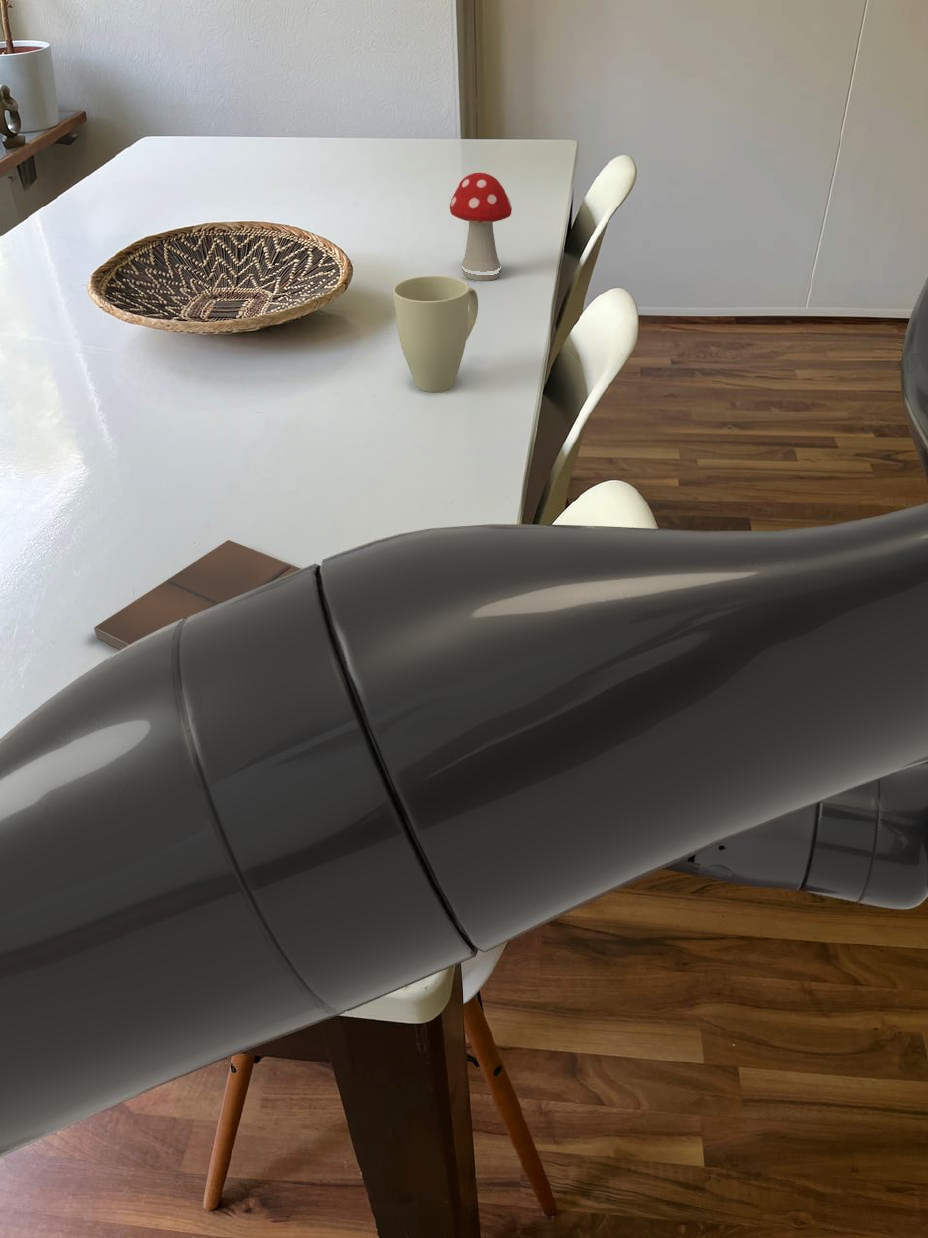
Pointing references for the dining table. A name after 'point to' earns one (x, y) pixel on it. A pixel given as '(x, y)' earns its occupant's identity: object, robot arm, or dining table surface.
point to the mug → (434, 327)
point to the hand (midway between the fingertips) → (411, 747)
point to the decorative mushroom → (480, 221)
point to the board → (193, 592)
